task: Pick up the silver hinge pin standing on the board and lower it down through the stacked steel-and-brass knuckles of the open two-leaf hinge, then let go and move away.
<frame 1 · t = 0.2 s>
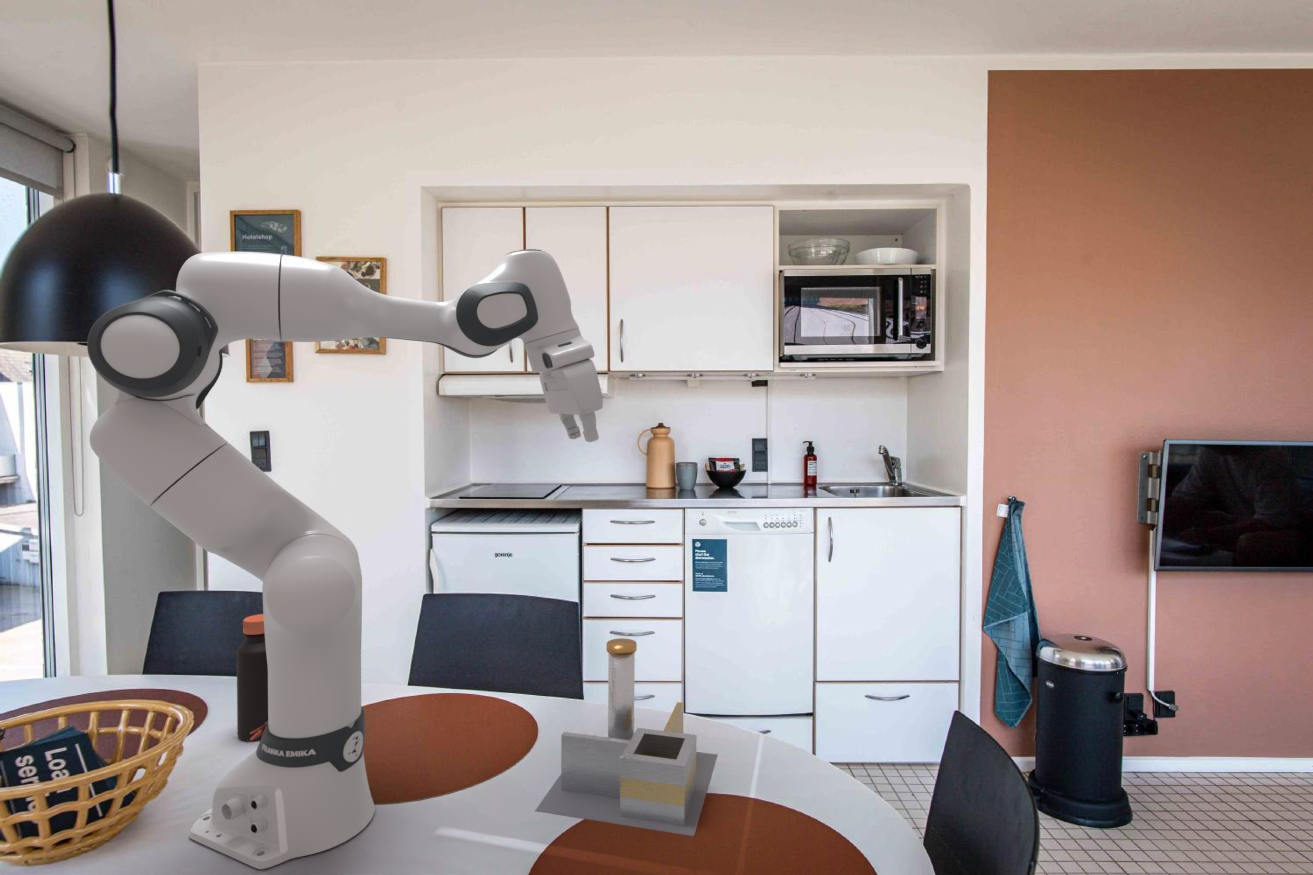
hand: (583, 439, 103), 51 cm above the table, tool tilted 20°, fingers open, 8 cm apart
bottle: (260, 733, 112), on the table
hinge: (659, 810, 90), resting on base board
hinge pin: (620, 765, 100), point 1 cm above the table, touching base board
base board: (633, 788, 96), on the table
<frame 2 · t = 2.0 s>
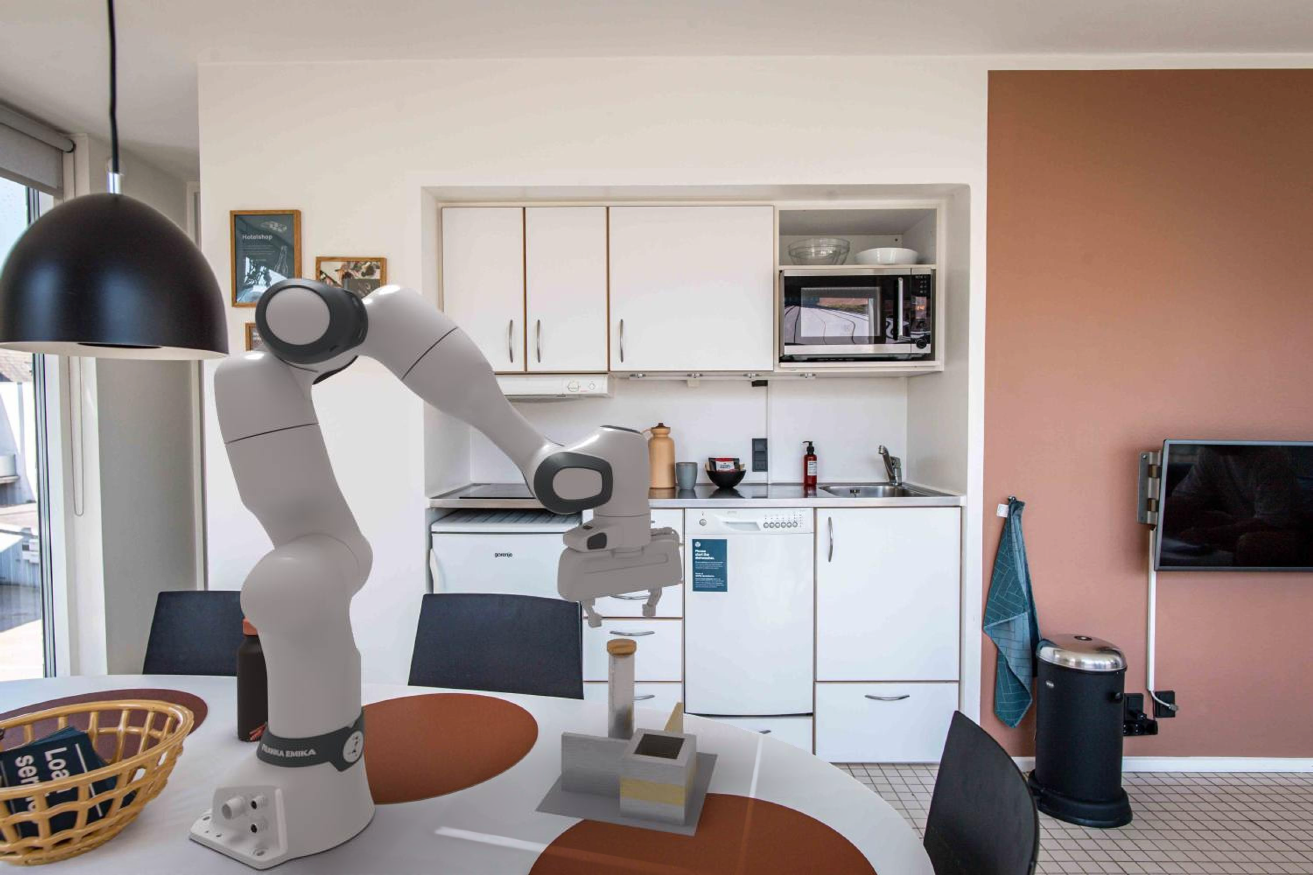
hand: (622, 621, 100), 24 cm above the table, tool pointing down, fingers open, 8 cm apart
nothing on the table moved.
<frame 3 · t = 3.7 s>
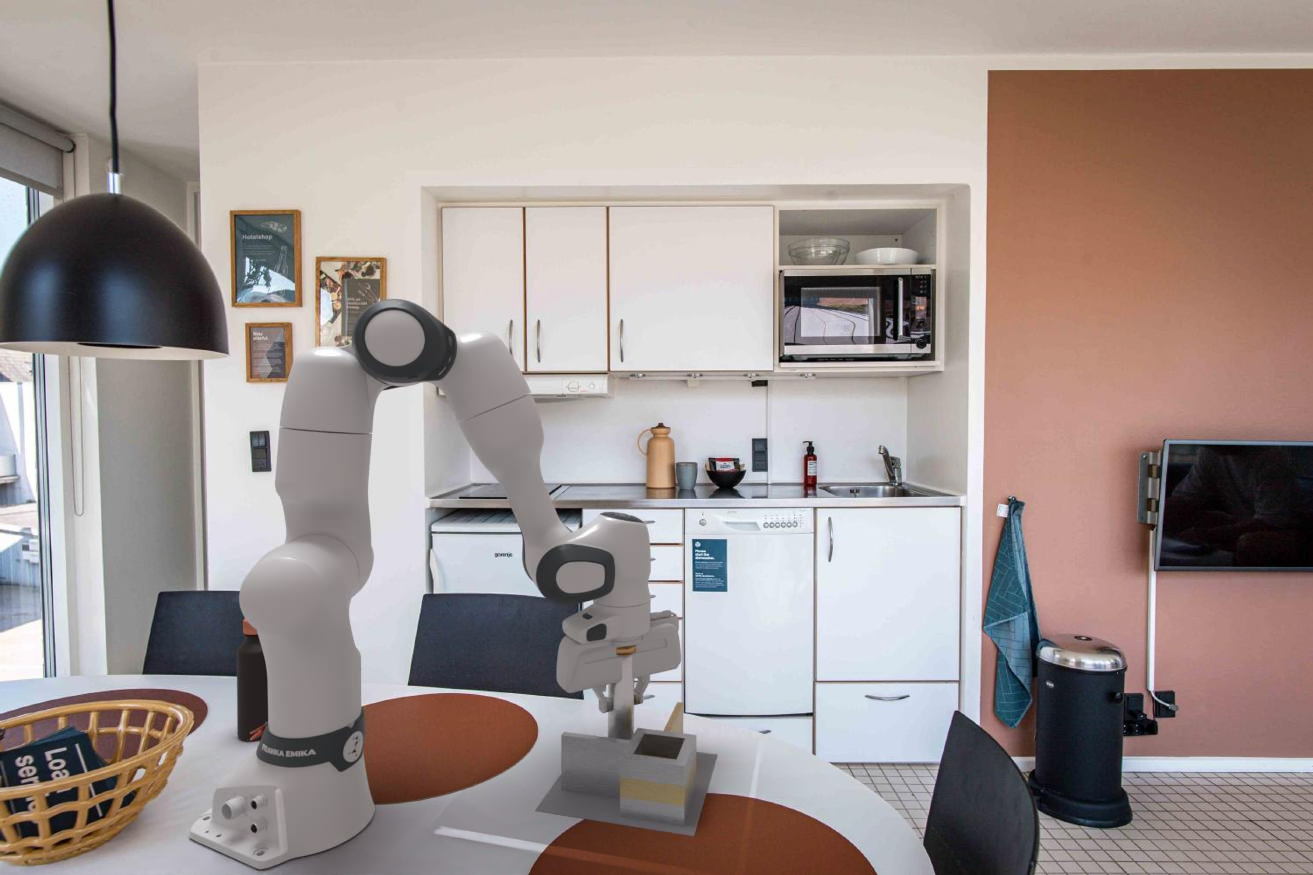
hand: (621, 707, 100), 10 cm above the table, tool pointing down, fingers closed on hinge pin, 4 cm apart
hinge pin: (620, 765, 100), point 1 cm above the table, touching base board, gripper
everything else where it was.
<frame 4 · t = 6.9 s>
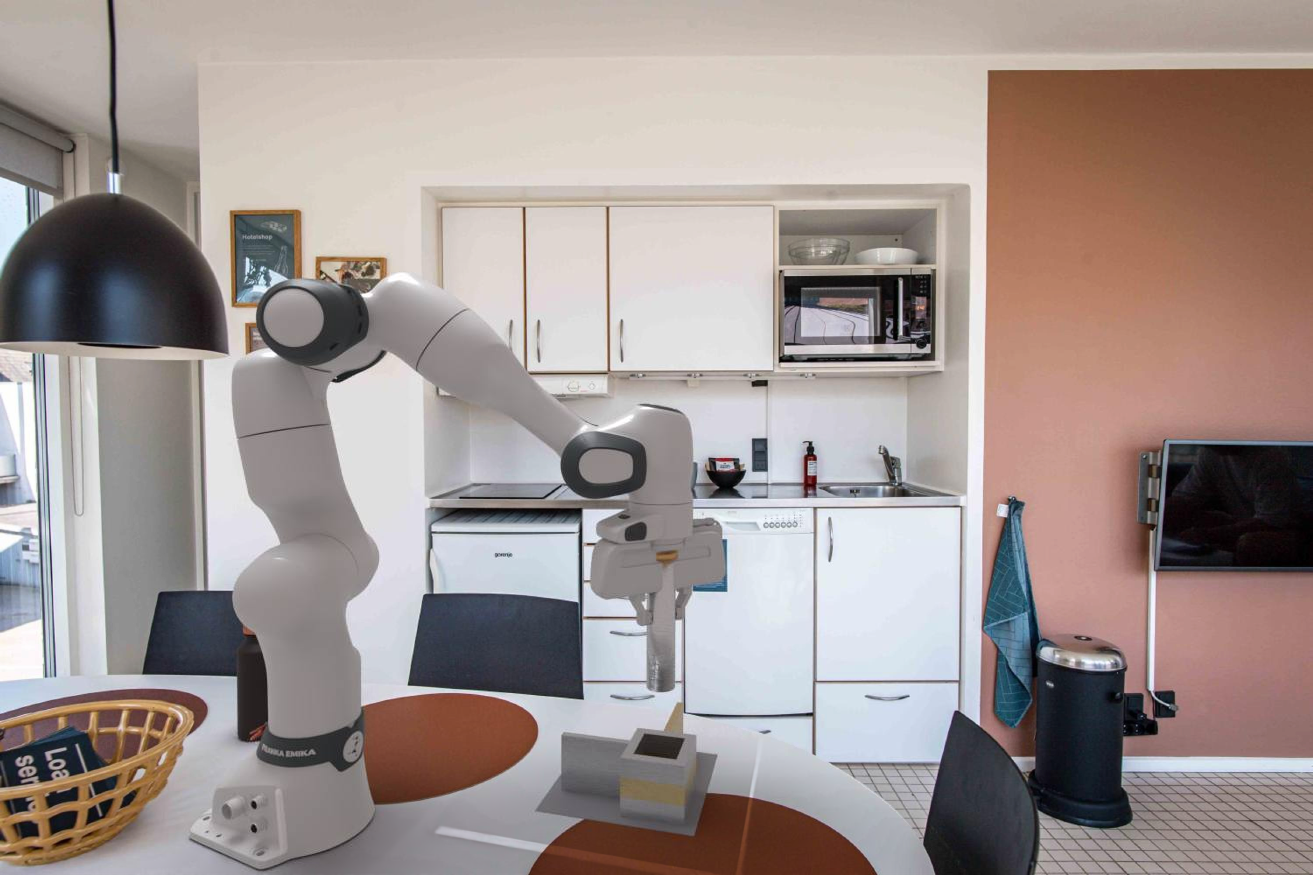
hand: (660, 621, 90), 27 cm above the table, tool pointing down, fingers closed on hinge pin, 4 cm apart
hinge pin: (660, 686, 90), point 18 cm above the table, touching gripper
everything else where it was.
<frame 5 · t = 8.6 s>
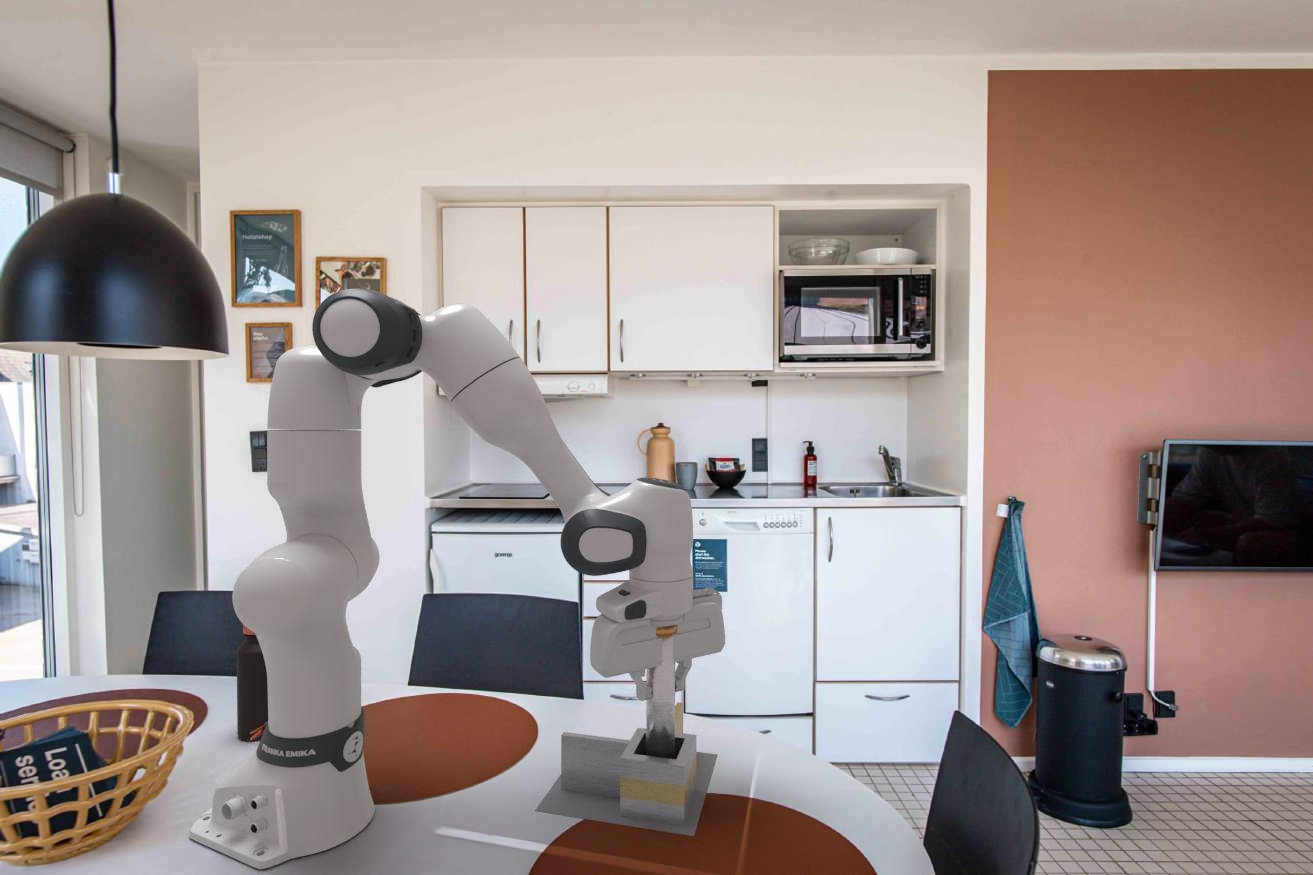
hand: (660, 694, 90), 16 cm above the table, tool pointing down, fingers closed on hinge pin, 4 cm apart
hinge pin: (660, 758, 90), point 7 cm above the table, touching gripper
everything else where it was.
when the fingers open (12 cm above the table, at t = 9.9 s): hinge pin drops 2 cm, resting on base board.
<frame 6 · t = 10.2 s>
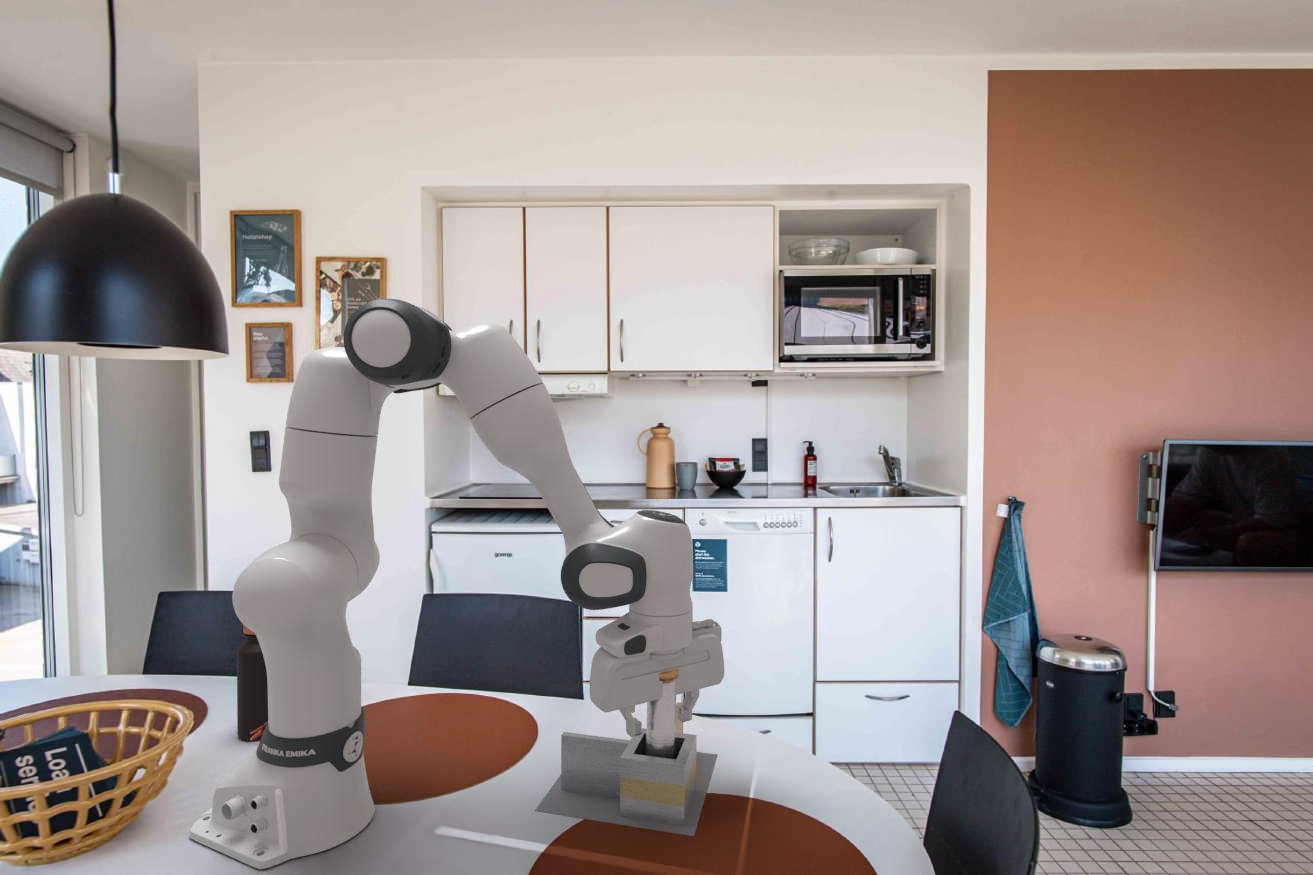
hand: (659, 726, 90), 12 cm above the table, tool pointing down, fingers open, 7 cm apart
hinge pin: (658, 802, 90), point 1 cm above the table, touching base board
everything else where it was.
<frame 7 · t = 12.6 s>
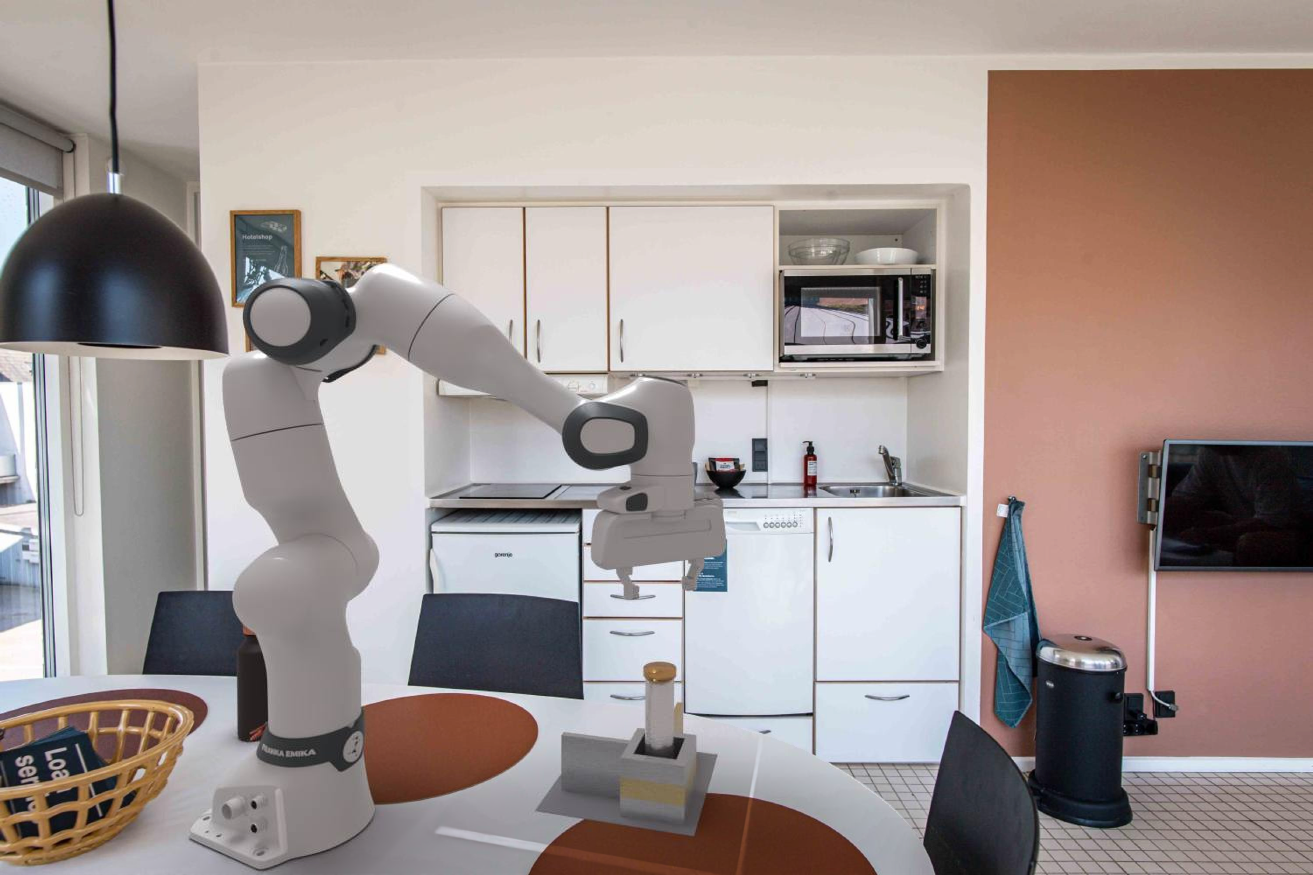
hand: (661, 594, 90), 30 cm above the table, tool pointing down, fingers open, 8 cm apart
nothing on the table moved.
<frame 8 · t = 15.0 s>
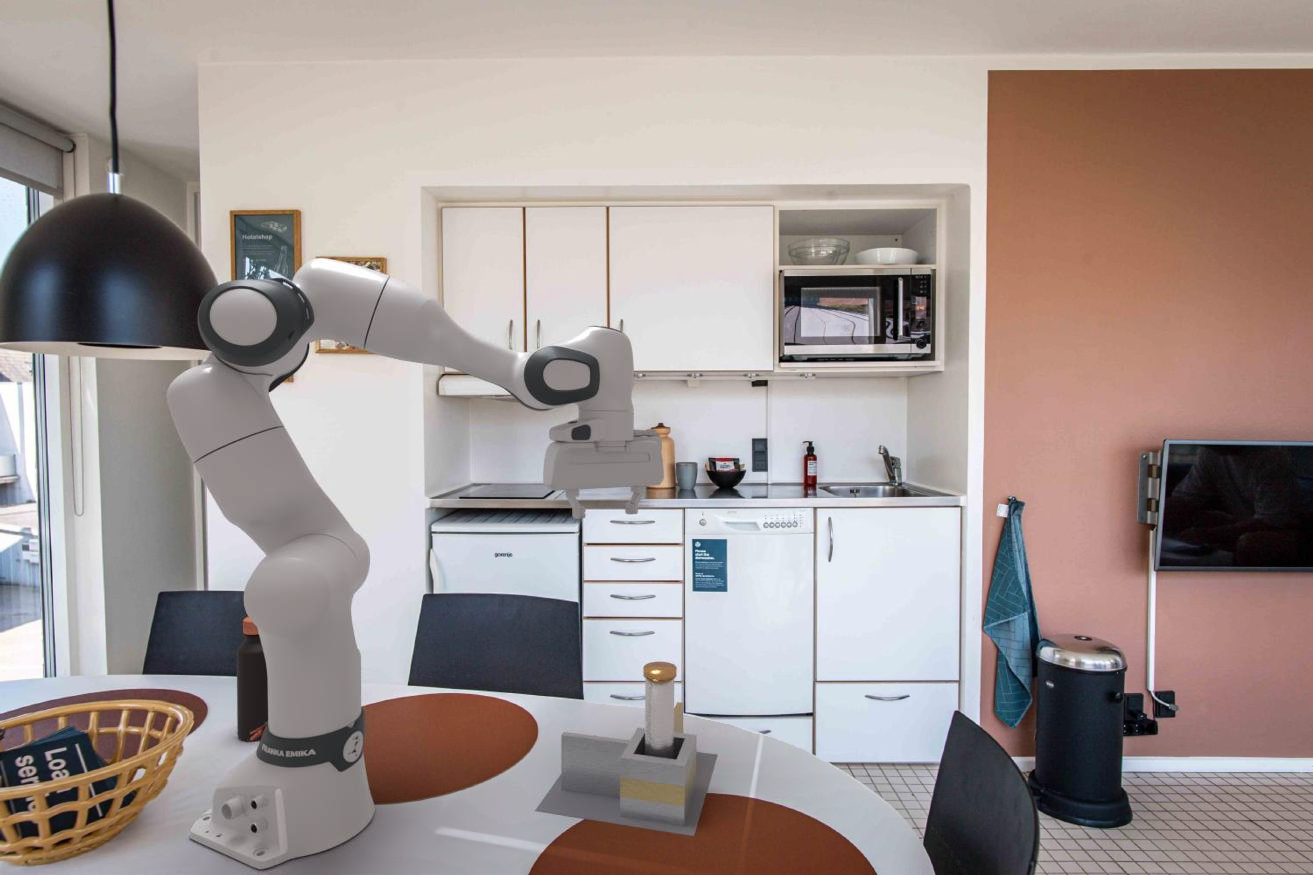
hand: (605, 516, 104), 39 cm above the table, tool pointing down, fingers open, 8 cm apart
nothing on the table moved.
at the end: hinge pin 0.1 cm off-centre on the hinge, point 1.2 cm above the hinge's base; hinge pin tilted 0°; the gripper is holding nothing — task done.
